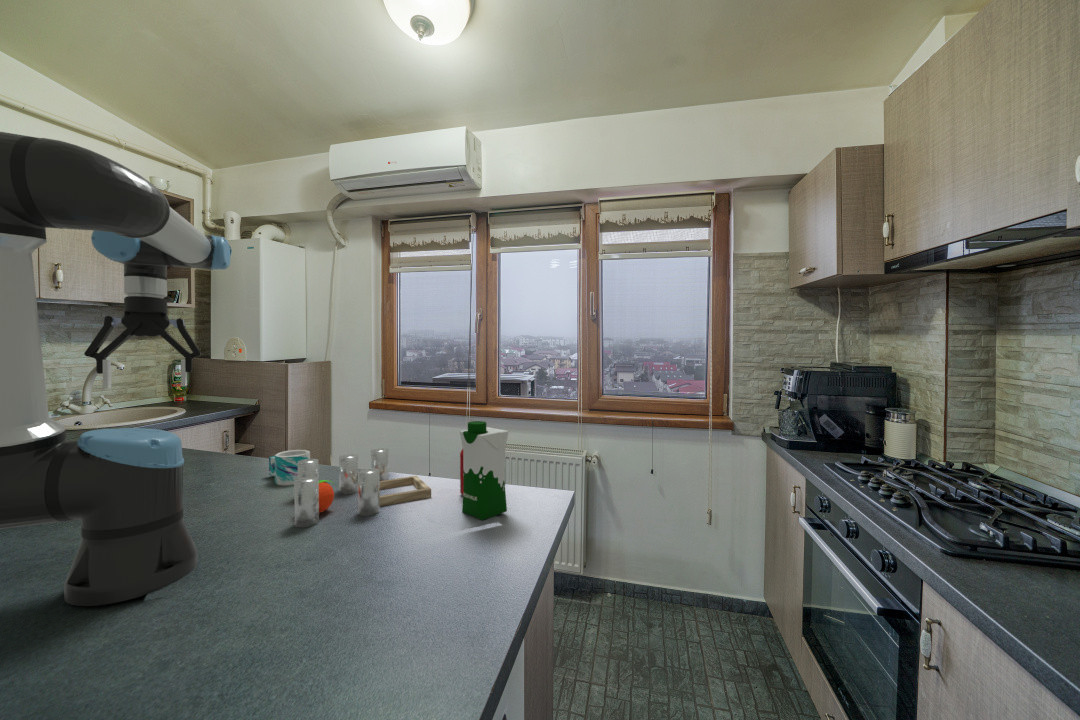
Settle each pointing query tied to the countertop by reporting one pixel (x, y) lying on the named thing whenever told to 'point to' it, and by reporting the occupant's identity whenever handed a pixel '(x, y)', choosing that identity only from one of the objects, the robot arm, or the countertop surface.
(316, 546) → the countertop surface
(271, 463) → the mug
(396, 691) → the countertop surface
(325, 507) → the clementine
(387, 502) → the beech corral
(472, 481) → the milk carton
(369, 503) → the spacer field
